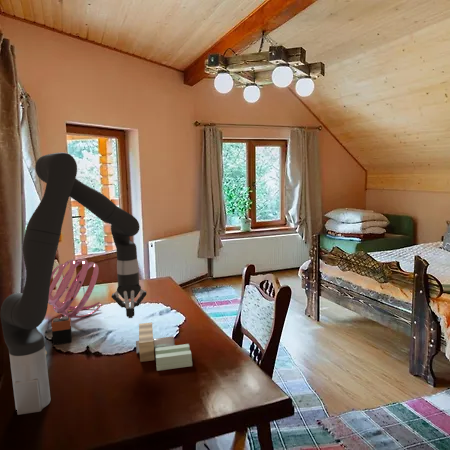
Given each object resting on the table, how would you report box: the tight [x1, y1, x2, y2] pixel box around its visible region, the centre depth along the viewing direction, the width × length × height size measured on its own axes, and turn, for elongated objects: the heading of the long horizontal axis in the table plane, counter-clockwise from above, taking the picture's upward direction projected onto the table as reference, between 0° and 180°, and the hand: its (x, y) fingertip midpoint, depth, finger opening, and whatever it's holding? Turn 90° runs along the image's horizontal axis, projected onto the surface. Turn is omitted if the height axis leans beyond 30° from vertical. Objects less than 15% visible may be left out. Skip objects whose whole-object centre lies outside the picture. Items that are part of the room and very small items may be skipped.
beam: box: [138, 322, 156, 363], centre depth 147 cm, size 18×5×7 cm, turn 12°
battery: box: [50, 316, 73, 346], centre depth 157 cm, size 4×7×10 cm, turn 107°
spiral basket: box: [48, 258, 102, 319], centre depth 186 cm, size 28×28×27 cm
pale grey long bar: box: [135, 335, 176, 354], centre depth 147 cm, size 14×4×4 cm, turn 103°
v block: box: [154, 343, 193, 372], centre depth 137 cm, size 10×12×4 cm
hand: (130, 317), depth 144 cm, fingers closed
